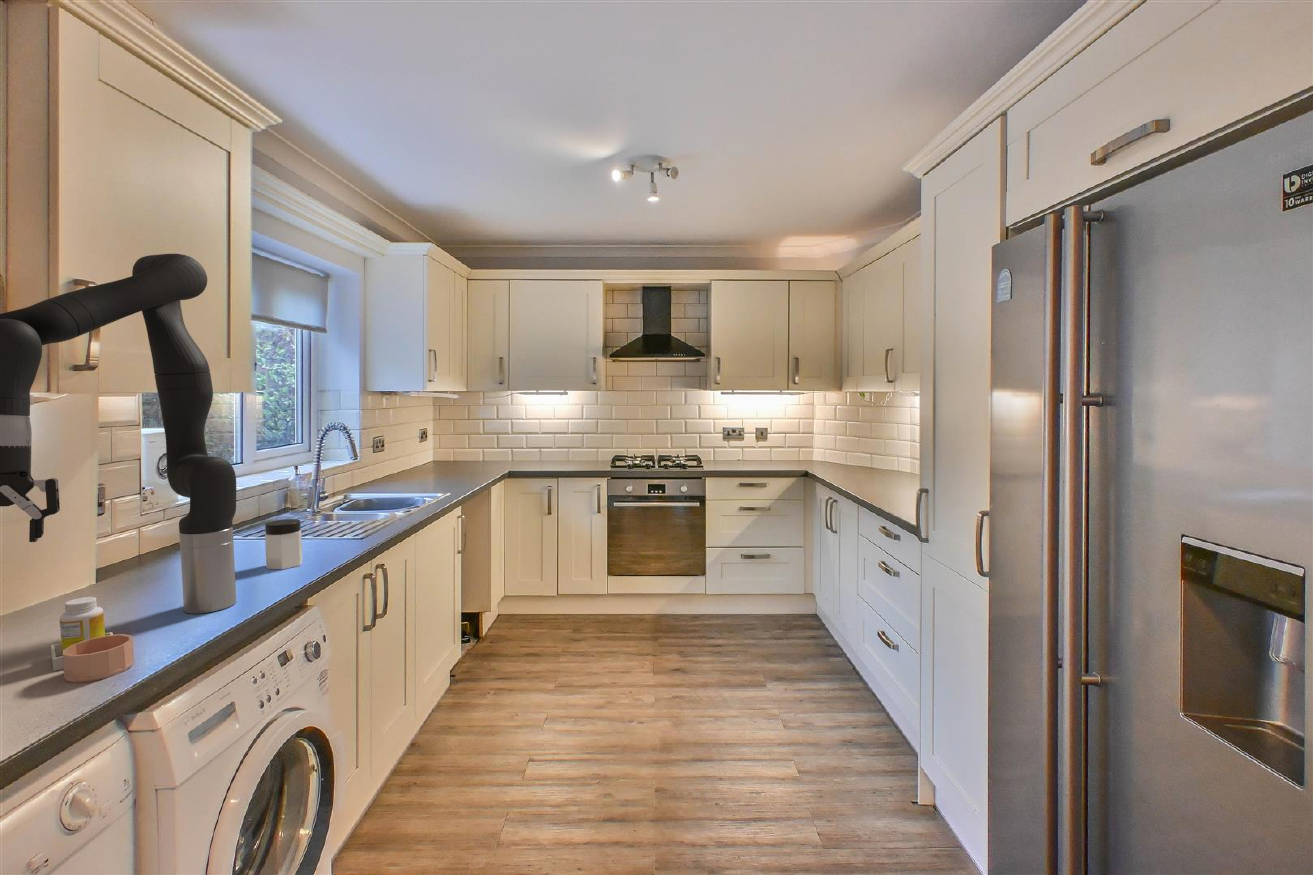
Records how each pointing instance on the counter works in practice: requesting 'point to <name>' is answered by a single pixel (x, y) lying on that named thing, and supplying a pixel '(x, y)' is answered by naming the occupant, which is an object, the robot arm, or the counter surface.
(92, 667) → the terracotta bowl
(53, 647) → the tray
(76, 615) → the supplement bottle
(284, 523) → the jar
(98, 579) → the counter surface
